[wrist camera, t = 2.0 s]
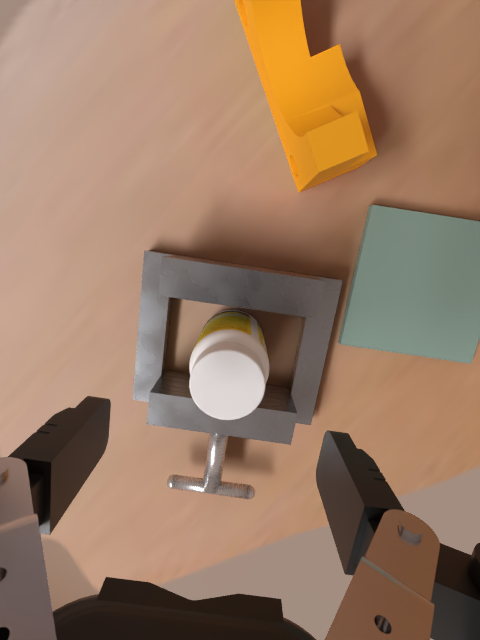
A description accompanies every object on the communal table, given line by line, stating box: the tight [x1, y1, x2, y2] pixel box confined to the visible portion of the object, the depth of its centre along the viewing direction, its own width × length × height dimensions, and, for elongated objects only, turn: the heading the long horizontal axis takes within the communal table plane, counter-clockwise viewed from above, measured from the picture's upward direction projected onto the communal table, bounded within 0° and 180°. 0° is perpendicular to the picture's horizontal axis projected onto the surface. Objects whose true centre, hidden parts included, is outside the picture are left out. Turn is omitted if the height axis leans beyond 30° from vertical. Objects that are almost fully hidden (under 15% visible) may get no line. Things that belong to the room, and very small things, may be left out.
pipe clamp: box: [234, 0, 377, 192], centre depth 18 cm, size 12×4×6 cm, turn 22°
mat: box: [338, 205, 480, 364], centre depth 23 cm, size 10×10×1 cm
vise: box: [133, 251, 343, 499], centre depth 23 cm, size 14×18×4 cm
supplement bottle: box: [189, 310, 269, 420], centre depth 21 cm, size 5×5×8 cm
